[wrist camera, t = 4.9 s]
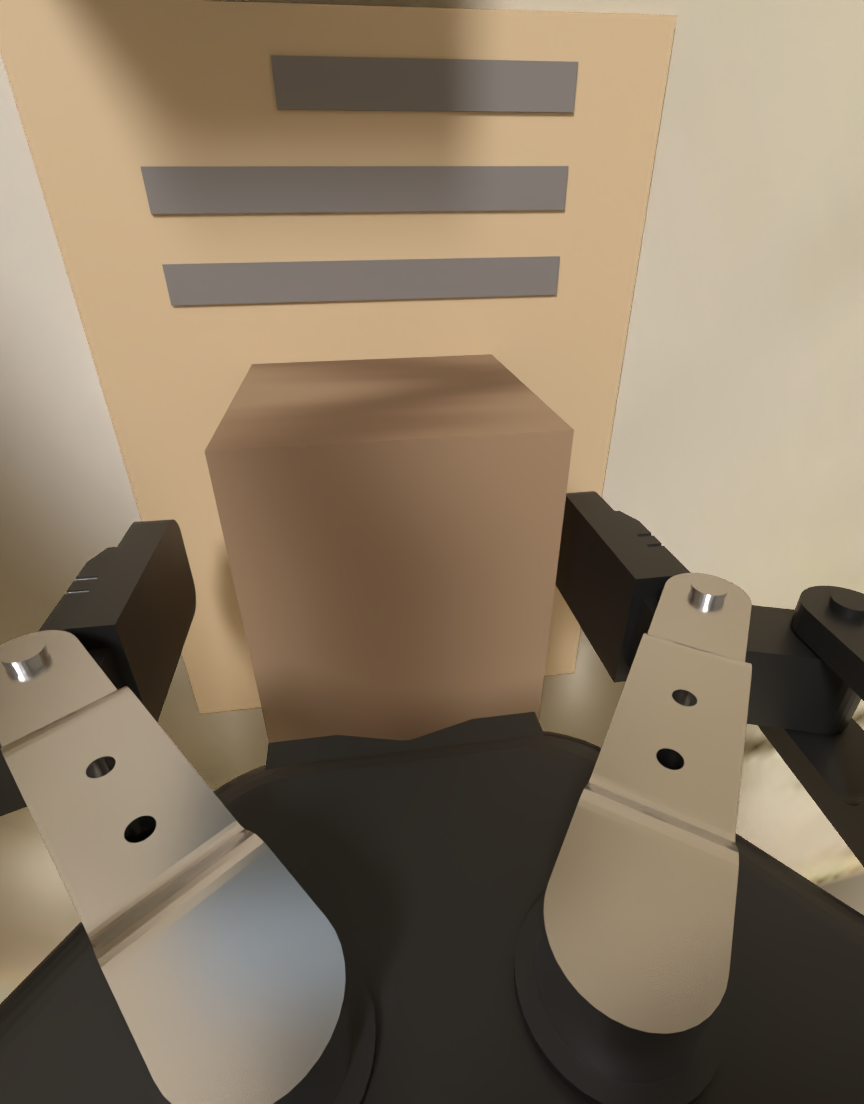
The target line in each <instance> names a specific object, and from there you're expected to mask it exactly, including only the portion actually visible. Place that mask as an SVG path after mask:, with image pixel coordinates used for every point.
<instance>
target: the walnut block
mask: <svg viewBox="0 0 864 1104" xmlns="http://www.w3.org/2000/svg"><path fill="white" fill-rule="evenodd" d="M573 435H574V429H572V428H571V427H570V426H569V425H568V424H567V423H566V422H565V421H564V420H563V419H562V418H561V417H559V416H558V415H557V414H556V413H555V412H554V411H553V410H552V409H551V408H550V407H549V406H547V405H546V404H545V403H544V402H543V401H542V400H541V399H540V398H539V397H538V396H537V395H535V394H534V393H533V392H532V391H531V390H530V389H529V388H528V387H527V386H526V385H525V384H523V383H522V382H521V381H520V380H519V379H518V378H517V377H516V376H515V375H514V374H513V373H511V372H510V371H509V370H508V369H507V368H506V367H505V366H504V365H503V364H502V363H501V362H499V361H498V360H497V359H496V358H495V357H494V356H493V355H492V354H487V355H463V356H438V357H413V358H389V359H364V360H340V361H315V362H291V363H266V364H252V365H251V367H250V369H249V371H248V372H247V374H246V376H245V378H244V380H243V382H242V383H241V385H240V387H239V389H238V391H237V393H236V394H235V396H234V398H233V400H232V402H231V404H230V405H229V407H228V409H227V411H226V413H225V415H224V416H223V418H222V420H221V422H220V424H219V426H218V427H217V429H216V431H215V433H214V435H213V437H212V438H211V440H210V442H209V444H208V446H207V448H206V449H205V456H206V460H207V465H208V469H209V474H210V478H211V483H212V487H213V492H214V496H215V501H216V505H217V510H218V514H219V519H220V523H221V528H222V532H223V537H224V541H225V546H226V550H227V555H228V559H229V564H230V568H231V573H232V577H233V582H234V586H235V591H236V595H237V600H238V604H239V609H240V613H241V618H242V622H243V627H244V631H245V636H246V640H247V645H248V649H249V654H250V658H251V663H252V667H253V672H254V676H255V681H256V685H257V690H258V694H259V699H260V703H261V708H262V712H263V717H264V721H265V726H266V730H267V735H268V739H269V743H272V742H280V741H289V740H297V739H306V738H314V737H323V736H331V735H345V736H356V737H368V738H379V739H391V740H411V739H415V738H418V737H421V736H424V735H427V734H430V733H433V732H435V731H438V730H441V729H444V728H447V727H450V726H453V725H456V724H459V723H462V722H465V721H468V720H471V719H476V718H484V717H493V716H501V715H510V714H518V713H527V712H535V714H536V716H537V719H538V721H539V714H540V706H541V698H542V690H543V682H544V673H545V665H546V657H547V649H548V640H549V632H550V624H551V616H552V607H553V599H554V591H555V583H556V575H557V566H558V558H559V550H560V542H561V533H562V525H563V517H564V509H565V501H566V492H567V484H568V476H569V468H570V459H571V451H572V443H573Z"/></svg>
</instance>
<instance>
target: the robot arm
mask: <svg viewBox="0 0 864 1104" xmlns="http://www.w3.org/2000/svg"><path fill="white" fill-rule="evenodd" d="M555 585H556V587H557V588H558V590H559V592H560V593H561V595H562V596H563V598H564V600H565V601H566V603H567V605H568V606H569V608H570V610H571V611H572V613H573V615H574V616H575V618H576V620H577V621H578V623H579V625H580V626H581V628H582V630H583V631H584V633H585V635H586V636H587V638H588V640H589V641H590V643H591V645H592V646H593V648H594V650H595V651H596V653H597V655H598V656H599V658H600V660H601V661H602V663H603V665H604V666H605V668H606V670H607V671H608V673H609V675H610V676H611V678H612V680H613V681H614V682H622V681H626V683H625V685H624V688H623V691H622V694H621V696H620V699H619V702H618V704H617V707H616V710H615V713H614V715H613V718H612V721H611V724H610V726H609V729H608V732H607V734H606V737H605V740H604V743H603V745H602V748H600V747H598V746H596V745H594V744H591V743H589V742H586V741H583V740H581V739H578V738H574V737H571V736H567V735H563V734H558V733H552V732H544V731H542V728H541V726H540V723H539V721H538V719H537V716H536V714H535V712H527V713H518V714H510V715H501V716H493V717H484V718H476V719H471V720H468V721H465V722H462V723H459V724H456V725H453V726H450V727H447V728H444V729H441V730H438V731H435V732H433V733H430V734H427V735H424V736H421V737H418V738H415V739H411V740H391V739H379V738H368V737H356V736H345V735H331V736H323V737H314V738H306V739H297V740H289V741H280V742H272V743H269V745H268V754H267V762H266V765H264V766H262V767H259V768H256V769H254V770H252V771H249V772H247V773H245V774H243V775H240V776H239V777H237V778H235V779H233V780H231V781H230V782H228V783H226V784H224V785H223V786H221V787H220V788H219V789H217V790H216V791H214V792H213V791H212V790H211V788H210V787H209V786H208V785H207V784H206V782H205V781H204V780H203V779H202V777H201V776H200V775H199V774H198V772H197V771H196V770H195V769H194V767H193V766H192V765H191V764H190V762H189V761H188V760H187V759H186V757H185V756H184V755H183V754H182V753H181V751H180V750H179V749H178V748H177V746H176V745H175V744H174V743H173V741H172V740H171V739H170V738H169V736H168V735H167V734H166V733H165V731H164V730H163V729H162V728H161V727H160V725H159V724H158V723H157V722H158V719H159V716H160V713H161V710H162V707H163V704H164V701H165V699H166V696H167V693H168V690H169V687H170V684H171V681H172V678H173V675H174V672H175V670H176V667H177V664H178V661H179V658H180V655H181V652H182V649H183V646H184V643H185V641H186V638H187V635H188V632H189V629H190V626H191V623H192V620H193V617H194V614H195V610H196V591H195V585H194V581H193V577H192V573H191V569H190V565H189V561H188V557H187V553H186V549H185V546H184V542H183V538H182V534H181V530H180V527H179V525H178V523H177V522H176V521H175V520H174V519H171V520H156V521H142V522H134V523H133V524H132V525H131V527H130V528H129V530H128V531H127V533H126V534H125V536H124V537H123V539H122V541H121V542H120V544H119V545H118V547H112V548H107V549H106V550H104V551H103V552H101V553H100V554H98V555H97V556H95V557H94V558H93V559H91V560H90V561H88V562H87V563H86V565H85V566H84V568H83V569H82V570H81V572H80V573H79V575H78V576H77V577H76V581H74V582H73V583H72V585H71V586H70V587H69V589H68V590H67V594H64V596H63V597H62V599H61V600H60V602H59V603H58V604H57V606H56V607H55V609H54V610H53V611H52V613H51V614H50V616H49V617H48V619H47V620H46V621H45V623H44V624H43V626H42V627H41V628H40V630H39V631H38V632H33V633H29V634H26V635H22V636H20V637H17V638H14V639H12V640H9V641H7V642H5V643H3V644H1V645H0V816H2V815H5V814H8V813H10V812H13V811H16V810H19V809H21V808H24V807H28V809H29V811H30V813H31V815H32V818H33V820H34V822H35V824H36V826H37V828H38V830H39V832H40V835H41V837H42V839H43V841H44V843H45V845H46V847H47V849H48V852H49V854H50V856H51V858H52V860H53V862H54V864H55V866H56V869H57V871H58V873H59V875H60V877H61V879H62V881H63V883H64V886H65V888H66V890H67V892H68V894H69V896H70V898H71V900H72V903H73V905H74V907H75V909H76V911H77V913H78V915H79V917H80V919H81V922H80V923H79V924H78V925H77V926H76V927H75V929H74V930H73V931H72V932H71V933H70V934H69V935H68V936H67V937H66V938H65V939H64V940H63V941H62V942H61V943H60V944H59V945H58V946H57V947H56V948H55V949H54V950H53V951H52V952H51V953H50V954H49V955H48V956H47V957H46V958H45V959H44V960H43V961H42V962H41V963H40V964H39V965H38V966H37V967H36V968H35V969H34V970H33V971H32V972H31V973H30V974H29V975H28V976H27V977H26V978H25V979H24V980H23V981H22V982H21V983H20V985H19V986H18V987H17V988H16V989H15V990H14V991H13V992H12V993H11V994H10V995H9V996H8V997H7V998H6V999H5V1000H4V1001H3V1002H2V1003H1V1004H0V1104H864V915H862V914H860V913H859V912H857V911H856V910H854V909H853V908H851V907H849V906H848V905H846V904H845V903H843V902H842V901H840V900H839V899H837V898H835V897H834V896H832V895H831V894H829V893H828V892H826V891H825V890H823V889H822V888H820V887H818V886H817V885H815V884H814V883H812V882H811V881H809V880H808V879H806V878H805V877H803V876H801V875H800V874H798V873H797V872H795V871H794V870H792V869H791V868H789V867H787V866H786V865H784V864H783V863H781V862H780V861H778V860H777V859H775V858H773V857H772V856H770V855H769V854H767V853H766V852H764V851H763V850H761V849H759V848H758V847H756V846H755V845H753V844H752V843H750V842H749V841H747V840H745V839H744V838H742V837H741V836H739V835H738V834H736V823H737V814H738V804H739V794H740V784H741V774H742V764H743V754H744V744H745V734H746V725H747V724H754V725H758V726H759V728H760V729H761V731H762V732H763V733H764V735H765V736H766V737H767V739H768V740H769V741H770V743H771V744H772V745H773V747H774V748H775V749H776V751H777V752H778V753H779V755H780V756H781V757H782V759H783V760H784V761H785V763H786V764H787V765H788V767H789V768H790V769H791V771H792V772H793V773H794V775H795V776H796V777H797V779H798V780H799V781H800V783H801V784H802V785H803V787H804V788H805V789H806V791H807V792H808V793H809V795H810V796H811V797H812V799H813V800H814V801H815V803H816V804H817V805H818V807H819V808H820V809H821V811H822V812H823V813H824V815H825V816H826V817H827V819H828V820H829V821H830V823H831V824H832V825H833V827H834V828H835V829H836V831H837V832H838V833H839V835H840V836H841V837H842V839H843V840H844V841H845V843H846V844H847V845H848V847H849V848H850V849H851V851H852V852H853V853H854V855H855V856H856V857H857V859H858V860H859V861H860V863H861V864H862V865H863V867H864V730H863V729H862V728H861V727H860V726H859V725H858V724H857V723H856V722H855V721H854V720H853V719H852V716H853V714H854V712H855V710H856V708H857V706H858V704H859V702H860V700H861V699H862V700H863V701H864V594H862V593H860V592H856V591H853V590H850V589H846V588H841V587H835V586H814V587H810V588H808V589H806V590H804V591H803V592H802V593H801V595H800V598H799V601H798V603H797V606H796V608H795V610H791V609H781V608H772V607H762V606H754V605H752V604H751V600H750V597H749V596H748V595H747V593H746V592H745V591H744V590H742V589H741V588H740V587H738V586H737V585H735V584H733V583H731V582H729V581H727V580H725V579H722V578H719V577H716V576H712V575H708V574H701V573H690V572H689V571H688V570H687V569H686V568H685V567H684V566H683V565H682V564H681V563H680V562H679V561H678V560H677V559H676V558H675V557H674V556H673V555H672V554H671V553H670V552H669V551H668V550H667V549H666V548H665V547H664V546H661V543H660V542H659V541H658V540H657V539H656V538H655V537H654V536H651V533H650V532H649V531H648V530H647V529H646V528H645V527H644V526H643V525H642V524H641V523H640V522H639V521H638V520H636V519H634V518H632V517H630V516H628V515H626V514H624V513H622V512H620V511H614V510H613V509H612V508H611V507H610V506H609V505H608V504H607V503H606V502H605V501H604V500H603V499H602V498H601V496H600V495H599V494H598V493H597V492H595V491H589V492H574V493H566V501H565V509H564V517H563V525H562V533H561V542H560V550H559V558H558V566H557V575H556V583H555Z"/></svg>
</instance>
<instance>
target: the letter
mask: <svg viewBox="0 0 864 1104" xmlns="http://www.w3.org/2000/svg"><path fill="white" fill-rule="evenodd" d="M676 17H677V15H647V14H616V13H584V12H553V11H522V10H490V9H459V8H428V7H397V6H365V5H334V4H303V3H272V2H240V1H209V0H0V52H1V55H2V59H3V62H4V65H5V68H6V72H7V75H8V78H9V82H10V85H11V88H12V92H13V95H14V98H15V102H16V105H17V108H18V112H19V115H20V118H21V122H22V125H23V128H24V132H25V135H26V138H27V142H28V145H29V148H30V152H31V155H32V158H33V162H34V165H35V168H36V172H37V175H38V178H39V181H40V185H41V188H42V191H43V195H44V198H45V201H46V205H47V208H48V211H49V215H50V218H51V221H52V225H53V228H54V231H55V235H56V238H57V241H58V245H59V248H60V251H61V255H62V258H63V261H64V265H65V268H66V271H67V275H68V278H69V281H70V284H71V288H72V291H73V294H74V298H75V301H76V304H77V308H78V311H79V314H80V318H81V321H82V324H83V328H84V331H85V334H86V338H87V341H88V344H89V348H90V351H91V354H92V358H93V361H94V364H95V368H96V371H97V374H98V378H99V381H100V384H101V387H102V391H103V394H104V397H105V401H106V404H107V407H108V411H109V414H110V417H111V421H112V424H113V427H114V431H115V434H116V437H117V441H118V444H119V447H120V451H121V454H122V457H123V461H124V464H125V467H126V471H127V474H128V477H129V481H130V484H131V487H132V490H133V494H134V497H135V500H136V504H137V507H138V510H139V514H140V517H141V520H142V521H156V520H171V519H174V520H175V521H176V522H177V523H178V525H179V527H180V530H181V534H182V538H183V542H184V546H185V549H186V553H187V557H188V561H189V565H190V569H191V573H192V577H193V581H194V585H195V591H196V610H195V614H194V617H193V620H192V623H191V626H190V629H189V632H188V635H187V638H186V641H185V643H184V646H183V649H182V652H181V653H182V657H183V660H184V663H185V667H186V670H187V673H188V677H189V680H190V683H191V687H192V690H193V693H194V696H195V700H196V703H197V706H198V710H199V713H200V714H204V713H213V712H222V711H231V710H240V709H249V708H259V707H261V703H260V699H259V694H258V690H257V685H256V681H255V676H254V672H253V667H252V663H251V658H250V654H249V649H248V645H247V640H246V636H245V631H244V627H243V622H242V618H241V613H240V609H239V604H238V600H237V595H236V591H235V586H234V582H233V577H232V573H231V568H230V564H229V559H228V555H227V550H226V546H225V541H224V537H223V532H222V528H221V523H220V519H219V514H218V510H217V505H216V501H215V496H214V492H213V487H212V483H211V478H210V474H209V469H208V465H207V460H206V456H205V449H206V448H207V446H208V444H209V442H210V440H211V438H212V437H213V435H214V433H215V431H216V429H217V427H218V426H219V424H220V422H221V420H222V418H223V416H224V415H225V413H226V411H227V409H228V407H229V405H230V404H231V402H232V400H233V398H234V396H235V394H236V393H237V391H238V389H239V387H240V385H241V383H242V382H243V380H244V378H245V376H246V374H247V372H248V371H249V369H250V367H251V365H252V364H266V363H291V362H315V361H340V360H364V359H389V358H413V357H438V356H463V355H487V354H492V355H493V356H494V357H495V358H496V359H497V360H498V361H499V362H501V363H502V364H503V365H504V366H505V367H506V368H507V369H508V370H509V371H510V372H511V373H513V374H514V375H515V376H516V377H517V378H518V379H519V380H520V381H521V382H522V383H523V384H525V385H526V386H527V387H528V388H529V389H530V390H531V391H532V392H533V393H534V394H535V395H537V396H538V397H539V398H540V399H541V400H542V401H543V402H544V403H545V404H546V405H547V406H549V407H550V408H551V409H552V410H553V411H554V412H555V413H556V414H557V415H558V416H559V417H561V418H562V419H563V420H564V421H565V422H566V423H567V424H568V425H569V426H570V427H571V428H572V429H574V435H573V443H572V451H571V459H570V468H569V476H568V484H567V492H566V493H574V492H589V491H595V492H597V493H598V494H599V495H600V496H601V497H602V491H603V484H604V478H605V471H606V465H607V459H608V452H609V446H610V439H611V433H612V427H613V420H614V414H615V407H616V401H617V395H618V388H619V382H620V375H621V369H622V363H623V356H624V350H625V343H626V337H627V331H628V324H629V318H630V312H631V305H632V299H633V292H634V286H635V280H636V273H637V267H638V260H639V254H640V248H641V241H642V235H643V228H644V222H645V216H646V209H647V203H648V196H649V190H650V184H651V177H652V171H653V164H654V158H655V152H656V145H657V139H658V132H659V126H660V120H661V113H662V107H663V100H664V94H665V88H666V81H667V75H668V69H669V62H670V56H671V49H672V43H673V37H674V30H675V24H676ZM580 631H581V626H580V625H579V623H578V621H577V620H576V618H575V616H574V615H573V613H572V611H571V610H570V608H569V606H568V605H567V603H566V601H565V600H564V598H563V596H562V595H561V593H560V592H559V590H558V588H557V587H556V585H555V591H554V599H553V607H552V616H551V624H550V632H549V640H548V649H547V657H546V665H545V673H544V676H550V675H559V674H569V673H574V670H575V663H576V657H577V650H578V644H579V638H580Z"/></svg>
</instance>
